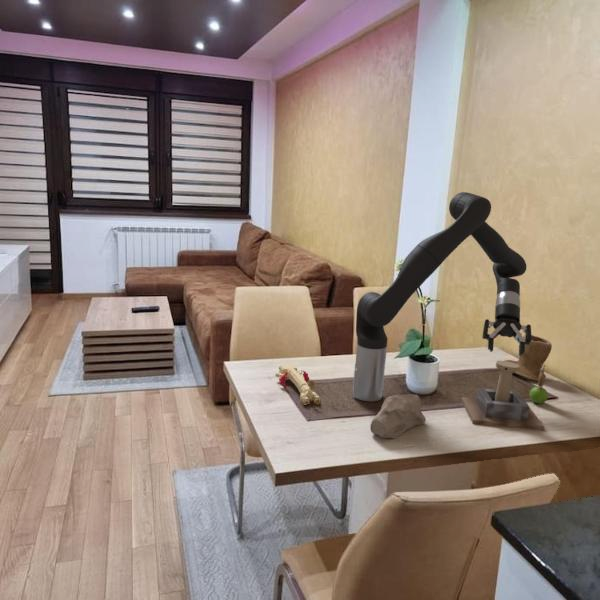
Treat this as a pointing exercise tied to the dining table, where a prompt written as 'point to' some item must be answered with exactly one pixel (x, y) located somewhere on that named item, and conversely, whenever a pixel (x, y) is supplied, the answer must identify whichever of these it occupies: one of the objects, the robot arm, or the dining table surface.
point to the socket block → (501, 410)
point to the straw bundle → (298, 382)
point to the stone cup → (533, 358)
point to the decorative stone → (397, 416)
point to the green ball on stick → (539, 390)
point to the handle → (505, 380)
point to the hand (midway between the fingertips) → (506, 352)
